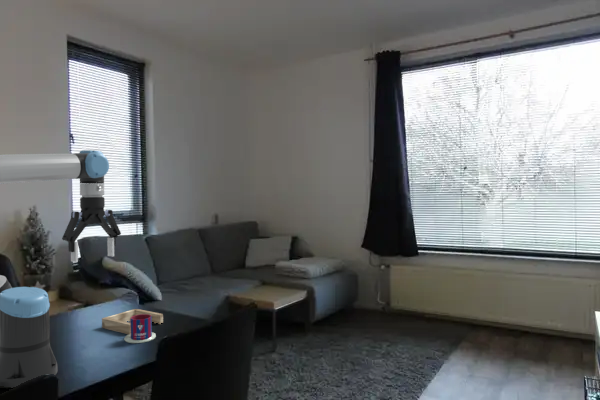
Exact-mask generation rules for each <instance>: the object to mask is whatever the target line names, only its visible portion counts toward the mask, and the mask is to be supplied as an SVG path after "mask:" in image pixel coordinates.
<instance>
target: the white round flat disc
mask: <svg viewBox="0 0 600 400" xmlns="http://www.w3.org/2000/svg"><path fill="white" fill-rule="evenodd" d="M156 337H157V335H156V333H155V332H153V331H152V336H151V337H150V338H148V339H144V340H133V339H131V334H126V335H125V337H123V338H124V341H125V342H126V343H130V344H141V343H146V342H151V341H153V340H154V339H156Z"/></svg>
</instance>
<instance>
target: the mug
mask: <svg viewBox="0 0 600 400" xmlns="http://www.w3.org/2000/svg"><path fill="white" fill-rule="evenodd" d="M129 323H131V339H133V340H144V339H148V338H150V337H151V336H152V332H153V329H152V328H153V327H152V326H153V325H152V324H153V323H152V316H151V315H149V314H140V315H135V316H132V317H131V318H130V321H129Z"/></svg>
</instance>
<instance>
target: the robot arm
mask: <svg viewBox="0 0 600 400" xmlns="http://www.w3.org/2000/svg"><path fill="white" fill-rule="evenodd" d="M109 163H110V162H109V160H108V157H107V156H105V155H104V153H103V152H102V151H101V150H91V149H90V150H89V149H85V150H80V151H79V152H78V153H75V152H74V153H72V152H71V153H16V154H15V153H14V154H13V153H12V154H11V153H9V154H5V153H4V154H0V185H4V184H5V185H8V184H18V183H33V182H34V183H35V182H45V181H46V182H49V181H50V182H51V181H60V180H61V181H62V180H63V181H65V180H75V179H76V180H77V179H78V180H79V195H80V196H81V197H80V199H79V207H80V211H74V210H73V211H71V214H70V220H69V222H68V225H67V226H66V228H65V230H64V232H63V235H62V238H61V240H62V241H65V242H67V243H68V246H67V247H68V253H70V262H72V263H73V262H74V263H78V262H79V249H78V247H79V246H78V245H79V244H78V241H76V240H77V239H78V238H79V237H80V235H81V233H83V231H84V229H86V227H87V226H88V225H93V224H94V225H95V224H96V225H97V224H98V225H99V226H100V227H101V228H102V230H104V232H105V233H106V234H107V235H108V237H107V241H106V242H107V244H106V245H107V248H106V249H107V257H115V247H116V246H117V245H116V243H117V239H116V238H118V237H119V236H121V234H122V231H121V230H120V228H119V226H118V223H117V221H116V219H115V218H114V214H113V210H112V209H104V208H105V207H106V206H105V204H106V203H105V202H106V201H105V200H106V199H105V197H104V195H105V176H106V175H107V174H108V172H109V169H110V164H109ZM104 217H105V218H106V219H105V218H104ZM80 218H81V219H80ZM79 219H80V220H79ZM77 224H78V225H77ZM50 306H51V303H50V299H49V294H48V292H47V291H46V290H45V289H43V288H41V287H36V286H35V287H34V286H30V287H29V286H16V287H13V286H12V285H11V283H10V282H9V280H8V279H7V277H6V276H5V275H1V274H0V386H4V387H11V388H13V387H16V386H18V385H20V384H21V383H24V382H26V381H28V380H31V379H33V378H36V377H38V376H41V375H44V374H54V375H55V376H56V375H57V373H58V362H57V360H56V357H55V355H54V352H53V350H52V347H51V344H50V343H51V341H50V308H51V307H50Z"/></svg>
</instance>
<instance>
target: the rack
mask: <svg viewBox="0 0 600 400" xmlns="http://www.w3.org/2000/svg"><path fill="white" fill-rule="evenodd" d="M140 314H149V315H151V316H152V322H154V323H153V324H156V323H158V324H157V325H162V324H161V323H163V324H164V313H159V312H154V311H149V310H143V309H140V308H133V309H130V310H127V311H123V312H120V313H116V314H113V315H108V316H105V317H102V318H101V328H102V329H104V330H109V331H114V332H118V333H122V334H126V335H129V334H131V323H130V318H131V317H132V316H135V315H140ZM127 321H128V322H127Z"/></svg>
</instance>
